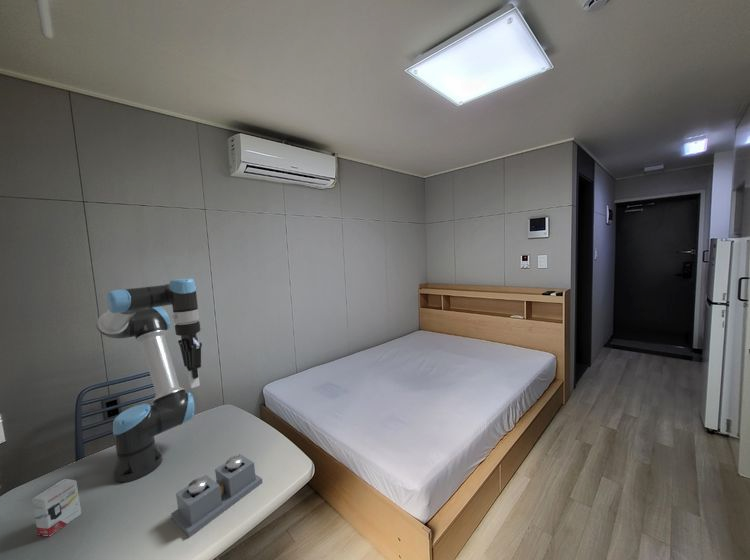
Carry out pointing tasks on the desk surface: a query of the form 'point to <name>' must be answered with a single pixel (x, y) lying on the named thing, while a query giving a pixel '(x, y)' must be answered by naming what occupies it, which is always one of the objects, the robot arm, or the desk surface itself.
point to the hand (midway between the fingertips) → (194, 386)
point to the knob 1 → (197, 486)
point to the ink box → (56, 506)
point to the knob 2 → (234, 463)
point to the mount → (214, 496)
